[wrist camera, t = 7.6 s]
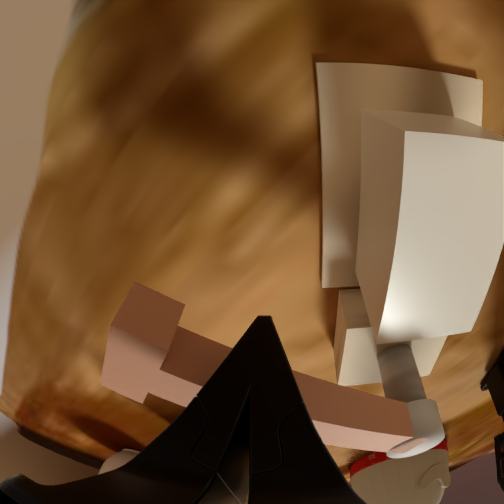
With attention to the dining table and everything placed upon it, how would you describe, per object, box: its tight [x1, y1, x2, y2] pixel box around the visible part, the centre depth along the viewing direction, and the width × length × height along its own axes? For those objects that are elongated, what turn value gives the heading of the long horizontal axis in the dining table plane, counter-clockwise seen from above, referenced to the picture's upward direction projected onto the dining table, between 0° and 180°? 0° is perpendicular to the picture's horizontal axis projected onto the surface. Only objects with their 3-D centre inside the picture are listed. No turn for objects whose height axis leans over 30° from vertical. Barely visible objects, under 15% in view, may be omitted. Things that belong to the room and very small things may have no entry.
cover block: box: [355, 109, 504, 344], centre depth 11 cm, size 5×8×5 cm, turn 6°
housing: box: [315, 62, 483, 403], centre depth 12 cm, size 8×16×7 cm, turn 6°
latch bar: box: [100, 282, 445, 458], centre depth 10 cm, size 4×14×2 cm, turn 63°
